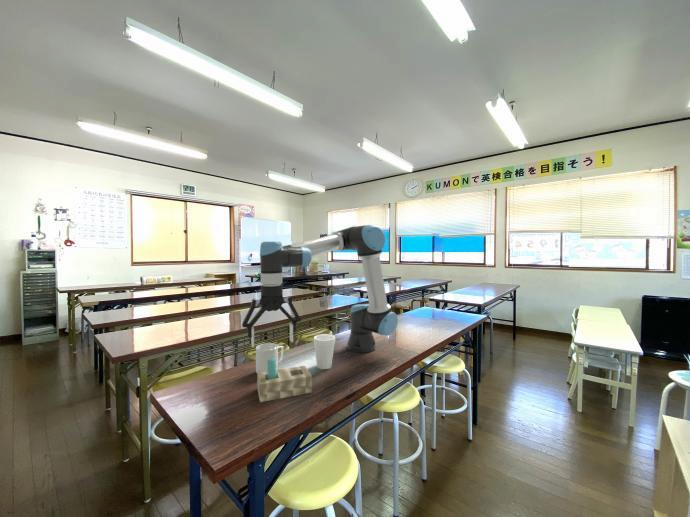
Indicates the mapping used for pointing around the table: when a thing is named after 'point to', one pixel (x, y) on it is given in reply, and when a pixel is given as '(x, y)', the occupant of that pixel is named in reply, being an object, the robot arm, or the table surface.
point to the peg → (271, 368)
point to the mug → (267, 356)
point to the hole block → (284, 383)
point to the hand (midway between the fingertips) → (272, 343)
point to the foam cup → (324, 350)
